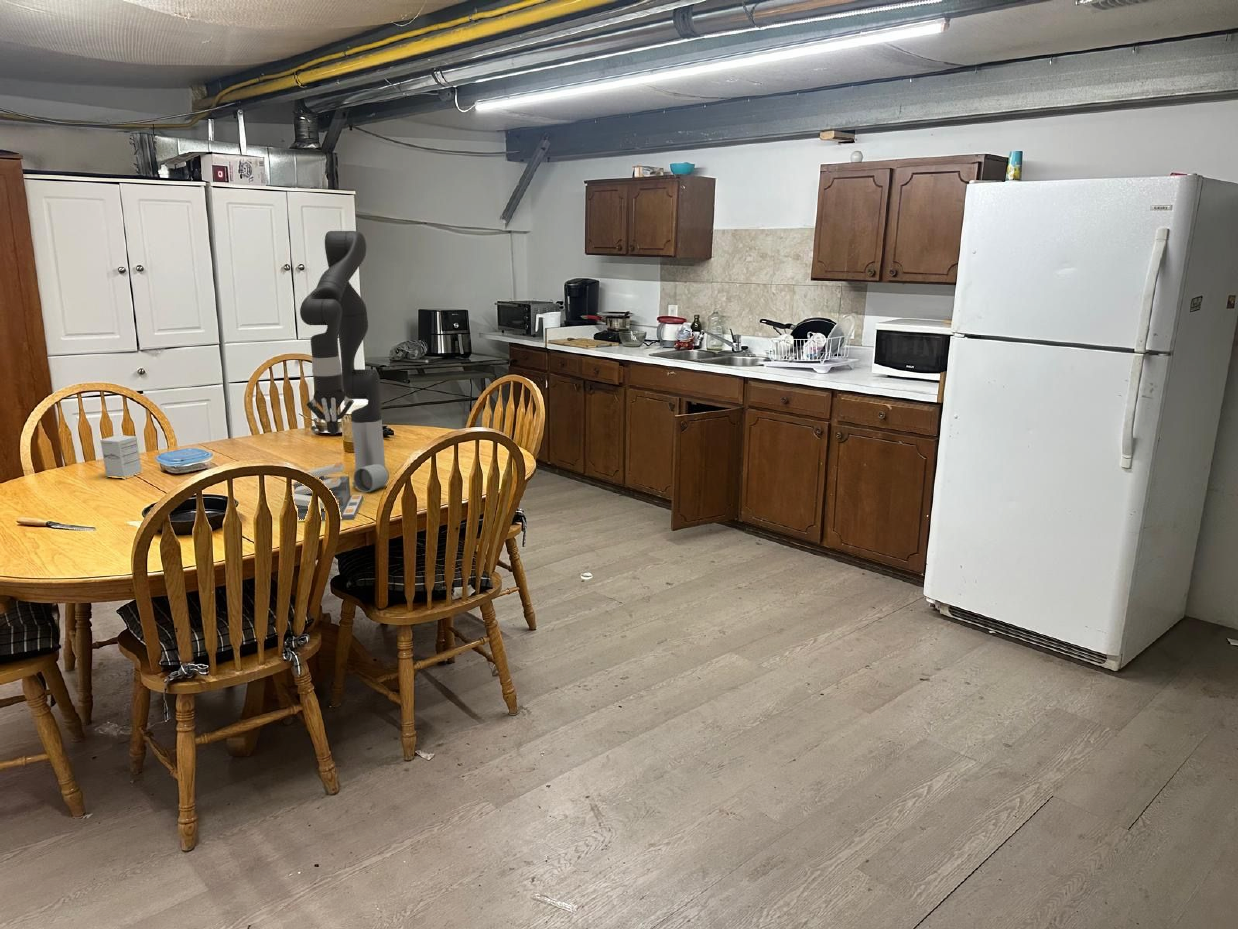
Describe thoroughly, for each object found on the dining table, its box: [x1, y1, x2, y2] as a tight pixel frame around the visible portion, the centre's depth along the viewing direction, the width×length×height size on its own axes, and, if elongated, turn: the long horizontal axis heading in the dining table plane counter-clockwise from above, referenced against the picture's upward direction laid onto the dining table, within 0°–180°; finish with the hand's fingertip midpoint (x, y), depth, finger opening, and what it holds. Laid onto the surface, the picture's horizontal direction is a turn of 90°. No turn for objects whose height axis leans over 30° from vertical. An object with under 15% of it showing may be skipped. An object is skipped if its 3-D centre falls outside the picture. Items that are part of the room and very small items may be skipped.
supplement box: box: [100, 434, 143, 478], centre depth 270 cm, size 7×7×13 cm
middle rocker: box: [293, 475, 341, 495], centre depth 237 cm, size 4×12×2 cm, turn 98°
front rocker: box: [292, 493, 339, 509], centre depth 232 cm, size 4×12×2 cm, turn 98°
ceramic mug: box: [352, 464, 390, 493], centre depth 258 cm, size 11×8×8 cm
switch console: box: [293, 475, 364, 522], centre depth 238 cm, size 18×18×8 cm
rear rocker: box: [306, 461, 345, 477], centre depth 242 cm, size 4×12×2 cm, turn 98°
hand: (333, 433), depth 240 cm, fingers closed
